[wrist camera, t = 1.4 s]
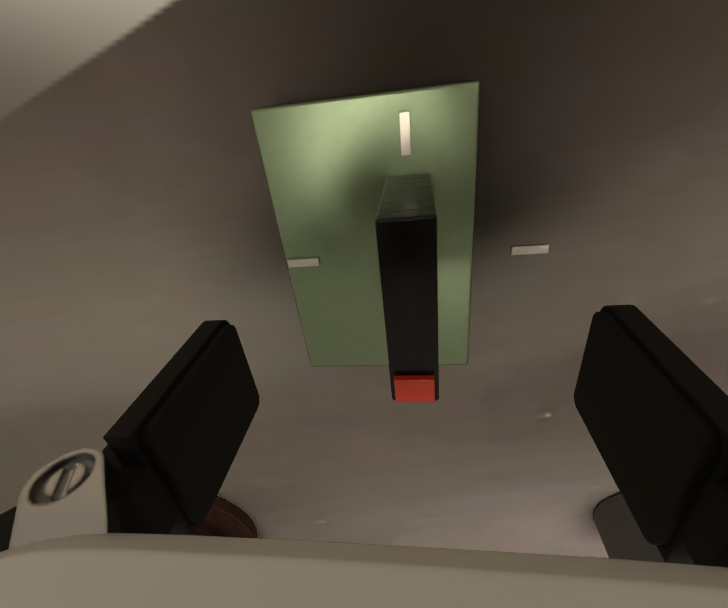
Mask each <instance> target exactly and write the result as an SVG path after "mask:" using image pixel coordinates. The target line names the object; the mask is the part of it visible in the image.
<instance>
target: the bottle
mask: <svg viewBox="0 0 728 608" xmlns="http://www.w3.org/2000/svg"><path fill="white" fill-rule="evenodd" d="M594 521H595V524H596V526H597V529H598V531H599V534H600V537H601V539H602V541H603V544H604V546H605V549H606V551H607V554H608V556H609V558H612V559H626V560H639V561H651V562H664V563H665V561H664V559H663V557H662V556H661V554H660V552H659V550H658V548H657V546H656V545H651V544H650V543H648V541H647V540H646V539H645V538H644V536H643V534H642V532H641V531H640V529H639V527H638V525H637V523H636V521H635V519H634V517H633V515H632V513H631V511H630V509H629V508H628V506H627V504H626V502H625V500H624V498H623V496H622V494H618V495H615V496H612V497H610V498H608V499H606V500H605V501H603V502H602V503H601V504H599V505H598V506H597V508H596V509H595V511H594Z"/></svg>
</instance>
